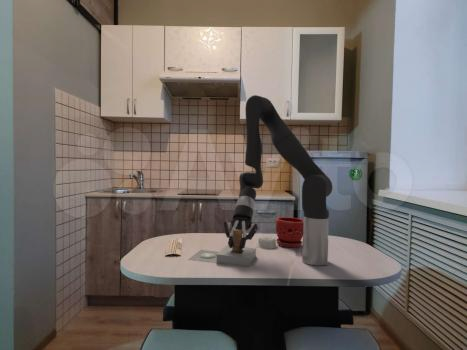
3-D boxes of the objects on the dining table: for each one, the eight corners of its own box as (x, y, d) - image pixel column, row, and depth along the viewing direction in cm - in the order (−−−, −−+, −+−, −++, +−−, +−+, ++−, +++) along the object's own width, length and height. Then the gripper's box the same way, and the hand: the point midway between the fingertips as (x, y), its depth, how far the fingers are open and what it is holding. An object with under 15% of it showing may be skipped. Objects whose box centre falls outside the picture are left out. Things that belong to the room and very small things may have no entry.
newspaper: (169, 242, 137) (169, 238, 137) (184, 241, 138) (184, 238, 138) (165, 258, 114) (165, 253, 114) (183, 257, 115) (183, 253, 115)
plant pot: (298, 250, 126) (299, 223, 125) (270, 245, 133) (271, 219, 132) (308, 244, 137) (308, 218, 137) (281, 239, 144) (282, 215, 143)
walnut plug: (242, 258, 111) (243, 229, 110) (240, 261, 107) (241, 231, 107) (233, 257, 112) (234, 228, 111) (230, 260, 108) (231, 230, 108)
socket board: (255, 258, 114) (256, 248, 114) (248, 269, 102) (249, 258, 102) (200, 252, 120) (201, 242, 120) (187, 262, 108) (187, 251, 108)
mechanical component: (260, 244, 136) (251, 249, 127) (260, 234, 136) (251, 239, 127) (281, 247, 131) (273, 253, 122) (281, 237, 131) (273, 242, 122)
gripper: (225, 203, 118) (215, 240, 107) (260, 205, 114) (253, 244, 103) (229, 214, 123) (219, 250, 112) (262, 216, 119) (256, 254, 108)
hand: (235, 247), depth 107 cm, fingers closed on walnut plug, 3 cm apart
